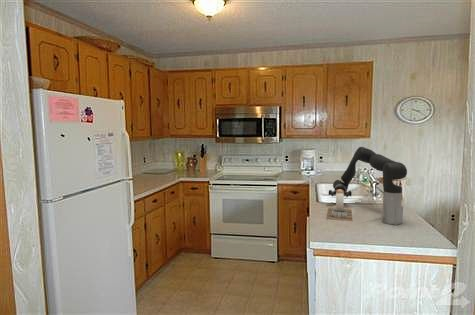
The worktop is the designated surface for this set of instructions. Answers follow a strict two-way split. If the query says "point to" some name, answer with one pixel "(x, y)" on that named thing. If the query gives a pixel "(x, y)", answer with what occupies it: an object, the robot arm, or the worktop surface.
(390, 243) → the worktop surface
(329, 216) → the jig board
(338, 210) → the socket collar
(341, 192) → the cylinder
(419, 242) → the worktop surface
